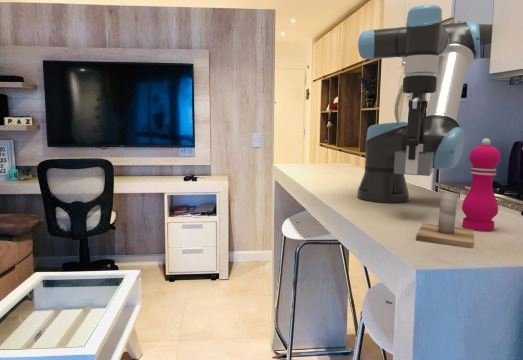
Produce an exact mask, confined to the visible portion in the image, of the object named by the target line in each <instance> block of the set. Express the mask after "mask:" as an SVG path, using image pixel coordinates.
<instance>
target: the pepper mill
mask: <svg viewBox="0 0 523 360" xmlns="http://www.w3.org/2000/svg"><path fill="white" fill-rule="evenodd" d="M491 144H492V141H491V139H489V138H487V137H486V138H483V139H482V140H481V145H478V146H475V147H474V148H473V149H471V151H470V153H469V159H468V160H469V161H470V163H471V164H472V166H471V168H470V169H471V170H470V174H472V181H471V185H470V189H469V190H468V192H467V194H466V196H465V197H464V199H463V200H462V201H463V202H462V205H461V211H462V213H463V214H464V215H465V217H464V218H463V219H462V228H466V229H473V231H478V232H492V231H493V230H494V229H495V221H494V220H493V219H494V218H495V217H496V216H497V215H498V214H499V204H498V201H497V198H496V196H495V191H494V188H493V182H494V181H493V180H494V176H497V168H495V167H497V165H498V164H500V162H501V153H500V151H499V150H498V149H497V148H496V147H494V146H491Z"/></svg>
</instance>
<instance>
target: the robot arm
mask: <svg viewBox="0 0 523 360" xmlns="http://www.w3.org/2000/svg"><path fill="white" fill-rule="evenodd" d="M442 22H443V10H442V7H441V6H440V5H437V4H436V5H435V4H422V5H416V6H413V7H411V8H410V9H409V10H408V12H407V18H406V23H405V26H400V27H399V26H398V27H390V28H378V29H371V30H370V29H369V30H364V31H363V30H362V32H361V33H360V34H359V36H358V40H357V41H358V43H357V49H358V54H359V57H360V58H361V59H363V60H377V59H378V60H379V59H390V58H391V59H392V58H402V59H404V61H402V62H401V66H402V67H404V68H403V74H404V75H405V76H404V77H403V79H402V92H403V94H411V99H409V100H408V114H407V116H408V117H407V121H397V122H396V121H395V122H385V123H377V124H372V125H370V126H369V127H368V128H367V132H366V139H365V142H366V143H365V157H364V158H365V161H364V162H365V163H364V174H363V176H362V179H361V181H360V183H359V186H358V189H357V198H358V199H361V200H365V201H369V202H378V203H390V204H391V203H392V204H394V203H395V204H396V203H399V204H401V203H406V202H408V201H409V199H410V198H409V197H410V196H409V195H410V193H409V190H408V189H409V188H408V186H407V185H408V184H407V182H406V181H407V180H406V178H405V174H394V161H395V152H398V151H400V150H401V151H406V164H405V173H407V174H406V175H408V174H417V172H418V158H419V151H421V152H434V158H433V169H436V170H441V169H443V170H444V169H445V170H450V169H451V170H452V169H454V168H455V167H456V166H457V165H458V163H459V161H460V159H461V157H462V155H463V149H464V144H465V139H466V138H465V130H464V129H463V128H461V125H460V123H459V121H458V120H457V117H458V114H459V108H460V103H461V99H462V93H463V88H464V83H465V77H466V74H467V73H466V72H467V69H468V68H469V67H471V65H472V64H473V62H474V60H475V61H476V60H477V59H480V57H481V45H480V44H481V41H480V39H481V36H480V35H481V34H480V24H479V23H478V22H477V21H463V22H453V23H443V24H442ZM426 94H430V96H429V101H428V100H426Z"/></svg>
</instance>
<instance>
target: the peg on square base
mask: <svg viewBox="0 0 523 360" xmlns="http://www.w3.org/2000/svg"><path fill="white" fill-rule="evenodd" d="M439 203H440V204H439V212H438V214H439V215H438V224H433V223H424V222H423V223H422V224H421V225H420V228H419V230H418V231H417V233H416V235H415V241H419V242H425V243H426V242H427V243H434V244H441V245H448V246H449V245H450V246H455V247H463V248H469V249H470V248H471V249H474V230H473V229H467V228H465V227H459V226H458V227H457V226H456V216H457V215H456V214H457V205H458V204H457V203H458V193H456V192H451V191H441V192H440V202H439Z"/></svg>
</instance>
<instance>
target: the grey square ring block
mask: <svg viewBox="0 0 523 360" xmlns="http://www.w3.org/2000/svg"><path fill="white" fill-rule="evenodd" d="M433 158H434V152H421V151H419V158H418V172H417V174H407V173H405V164H406V151H401V150H400V151H398V152H395V161H394V174H404V175H411V176H424V177H430V176H431V174H433V169H434V168H433Z"/></svg>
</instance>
